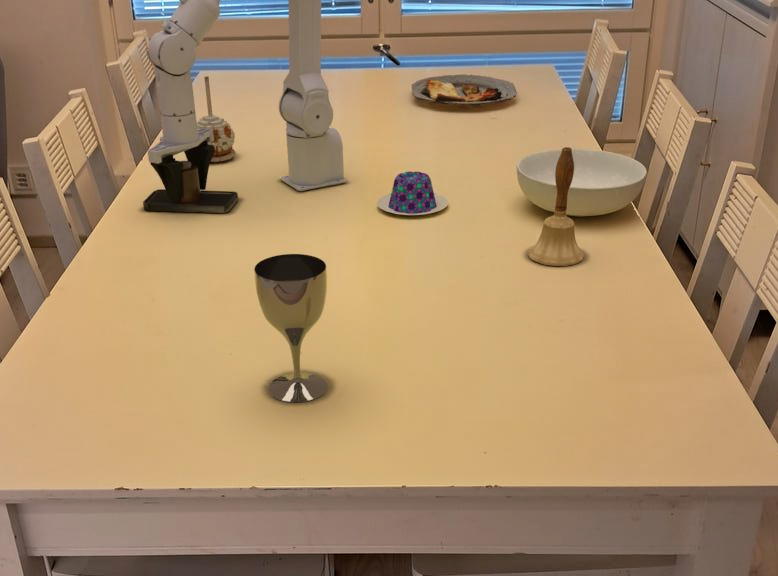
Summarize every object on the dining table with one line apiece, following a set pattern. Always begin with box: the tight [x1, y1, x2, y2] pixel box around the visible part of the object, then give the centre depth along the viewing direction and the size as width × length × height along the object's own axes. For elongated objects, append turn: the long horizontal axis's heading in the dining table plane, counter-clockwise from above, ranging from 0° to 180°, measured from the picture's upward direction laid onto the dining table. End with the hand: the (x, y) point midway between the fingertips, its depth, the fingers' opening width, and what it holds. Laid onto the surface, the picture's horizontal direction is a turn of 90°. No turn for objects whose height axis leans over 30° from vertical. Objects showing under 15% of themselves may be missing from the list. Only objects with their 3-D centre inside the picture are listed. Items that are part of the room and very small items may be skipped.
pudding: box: [376, 171, 449, 216], centre depth 171 cm, size 12×12×5 cm
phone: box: [142, 188, 239, 214], centre depth 175 cm, size 8×1×15 cm
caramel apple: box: [197, 75, 236, 163], centre depth 193 cm, size 8×8×15 cm
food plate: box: [411, 73, 518, 107], centre depth 230 cm, size 25×23×4 cm
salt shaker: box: [176, 160, 201, 204], centre depth 173 cm, size 4×4×7 cm
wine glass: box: [253, 253, 329, 403], centre depth 117 cm, size 8×8×15 cm
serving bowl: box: [516, 148, 648, 218], centre depth 168 cm, size 21×21×7 cm
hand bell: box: [527, 146, 585, 267], centre depth 149 cm, size 8×8×16 cm
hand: (187, 194), depth 174 cm, fingers open, 6 cm apart
